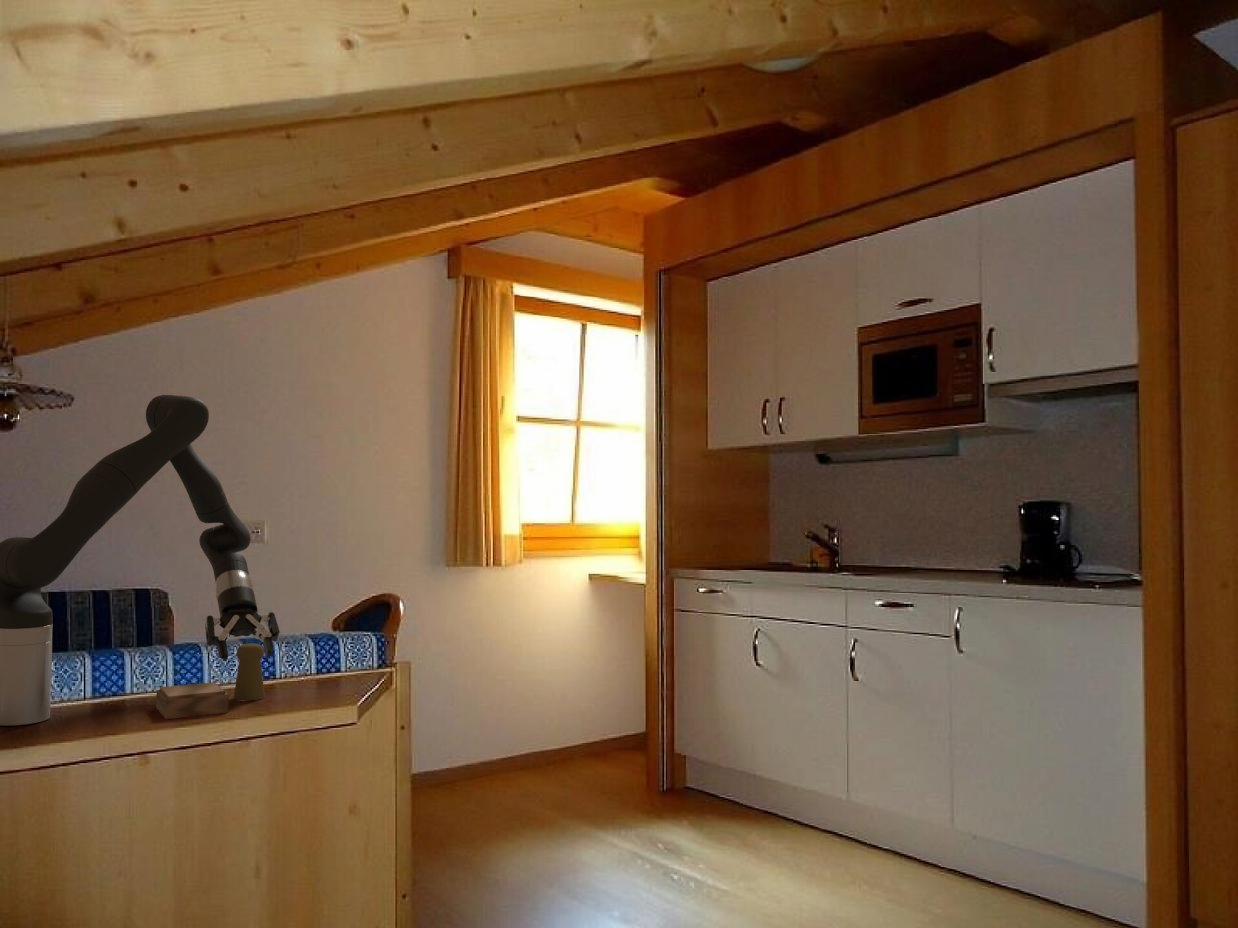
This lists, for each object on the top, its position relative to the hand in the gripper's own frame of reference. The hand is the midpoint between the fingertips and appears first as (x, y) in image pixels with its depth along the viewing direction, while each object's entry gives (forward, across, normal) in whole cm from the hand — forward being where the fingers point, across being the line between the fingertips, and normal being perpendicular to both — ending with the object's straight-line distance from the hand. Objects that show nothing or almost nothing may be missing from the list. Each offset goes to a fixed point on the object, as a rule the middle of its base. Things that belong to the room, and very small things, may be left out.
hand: (247, 657), depth 205 cm
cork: (+7, 0, +4) cm, 8 cm away
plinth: (+12, -12, 0) cm, 17 cm away
